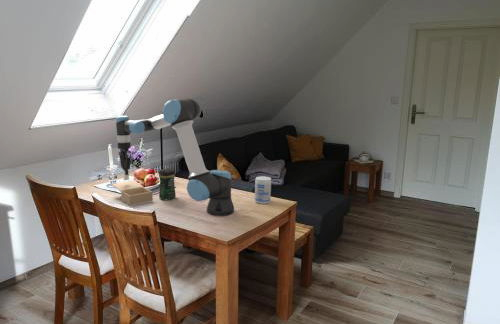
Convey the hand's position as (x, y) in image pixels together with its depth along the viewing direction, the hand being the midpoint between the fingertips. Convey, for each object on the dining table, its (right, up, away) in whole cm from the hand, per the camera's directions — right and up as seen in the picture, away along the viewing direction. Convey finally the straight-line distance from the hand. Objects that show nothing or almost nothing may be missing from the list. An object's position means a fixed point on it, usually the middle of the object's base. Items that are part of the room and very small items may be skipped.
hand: (126, 179), depth 239 cm
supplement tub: (+84, -13, -5) cm, 85 cm away
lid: (+1, -3, -1) cm, 4 cm away
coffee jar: (+26, -11, -2) cm, 28 cm away
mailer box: (+9, -12, -8) cm, 17 cm away
